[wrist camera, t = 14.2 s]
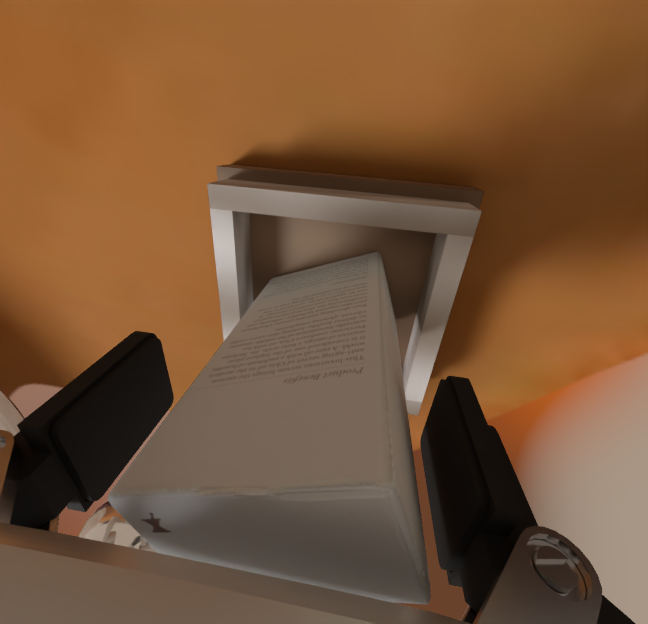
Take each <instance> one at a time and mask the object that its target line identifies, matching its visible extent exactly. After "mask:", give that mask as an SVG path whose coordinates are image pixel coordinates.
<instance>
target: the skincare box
mask: <svg viewBox="0 0 648 624" xmlns="http://www.w3.org/2000/svg"><path fill="white" fill-rule="evenodd" d="M108 501H109V503H110V504H111V505H112V507H113V508H114V509H115V510H116V511H117V512H118V513H119V514H120V515H121V516H122V517H123V518H124V519H125V520H126V521H127V522H128V523H129V524H130V525H131V526H132V527H133V528H134V529H135V530H136V531H137V532H138V533H139V534H140V535H141V536H142V537H143V538H144V539H145V540H146V541H147V543H148V544H149V545H150V546H151V547H152V548H153V549H154V550H155V551H156V552H157V553H160V554H165V555H170V556H175V557H180V558H185V559H190V560H194V561H199V562H204V563H209V564H214V565H219V566H223V567H228V568H233V569H238V570H243V571H248V572H252V573H257V574H262V575H267V576H271V577H276V578H281V579H286V580H290V581H295V582H300V583H304V584H309V585H314V586H319V587H323V588H328V589H333V590H337V591H342V592H347V593H351V594H356V595H361V596H365V597H370V598H374V599H378V600H382V601H387V602H394V603H414V604H428V603H429V601H430V597H431V596H430V581H429V573H428V566H427V558H426V550H425V542H424V535H423V527H422V519H421V513H420V504H419V497H418V489H417V483H416V474H415V467H414V460H413V451H412V443H411V436H410V428H409V420H408V412H407V405H406V397H405V390H404V382H403V374H402V366H401V358H400V350H399V342H398V334H397V325H396V320H395V315H394V311H393V306H392V302H391V297H390V293H389V288H388V284H387V279H386V275H385V270H384V266H383V262H382V258H381V255H380V253H379V252H378V251H376V252H372V253H369V254H365V255H361V256H357V257H353V258H349V259H345V260H341V261H337V262H333V263H329V264H325V265H321V266H318V267H314V268H310V269H306V270H302V271H298V272H295V273H291V274H286V275H282V276H279V277H274V278H272V279H271V280H270V281H269V282H268V284H267V285H266V286H265V288H264V289H263V290H262V292H261V293H260V294H259V296H258V297H257V298H256V300H255V301H254V302H253V303H252V305H251V306H250V308H249V309H248V310H247V312H246V313H245V314H244V316H243V317H242V318H241V320H240V321H239V322H238V324H237V325H236V326H235V328H234V329H233V330H232V332H231V333H230V334H229V335H228V337H227V338H226V339H225V341H224V342H223V343H222V345H221V346H220V347H219V349H218V350H217V351H216V353H215V354H214V355H213V357H212V358H211V359H210V361H209V362H208V363H207V365H206V366H205V367H204V369H203V370H202V371H201V372H200V374H199V375H198V377H197V378H196V379H195V381H194V382H193V383H192V385H191V386H190V387H189V388H188V390H187V391H186V392H185V394H184V395H183V396H182V398H181V399H180V400H179V402H178V403H177V404H176V405H175V407H174V408H173V409H172V411H171V412H170V413H169V415H168V416H167V417H166V419H165V420H164V421H163V422H162V424H161V425H160V426H159V428H158V429H157V430H156V432H155V433H154V434H153V436H152V437H151V438H150V440H149V441H148V442H147V444H146V445H145V447H144V448H143V449H142V450H141V452H140V453H139V454H138V456H137V457H136V459H135V460H134V461H133V462H132V464H131V465H130V466H129V468H128V469H127V470H126V472H125V473H124V474H123V476H122V477H121V479H120V480H119V481H118V483H117V484H116V485H115V487H114V488H113V489H112V491H111V492H110V494H109V497H108Z"/></svg>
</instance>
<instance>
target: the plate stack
mask: <svg viewBox="0 0 648 624" xmlns="http://www.w3.org/2000/svg"><path fill="white" fill-rule="evenodd" d="M24 419H25V418H24V416H23V415H22V413H21V412H20V411H19V409H18V408H17V407H16V405H15V404H14V403H13V402H12V401H11V400H10V398H9V399H7V397H6V396H5V395H4V394H3V393H2V392H1V391H0V430H5V431H8V432H11V434H12V435H13V436H15V435H16V434H17V433H18V432H20V430H19V428H18V427H17V425H18V424H19V423H20V422H21V421H23V420H24Z"/></svg>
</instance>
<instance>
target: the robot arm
mask: <svg viewBox="0 0 648 624" xmlns="http://www.w3.org/2000/svg"><path fill="white" fill-rule="evenodd" d="M173 398H174V397H173V392H172V387H171V383H170V379H169V374H168V370H167V366H166V362H165V357H164V353H163V349H162V344H161V341H160V340H159V339H158V338H157V336H156V335H155V334H153V333H147V332H140V331H135V332H133V333H132V334H130V335H129V336H128V337H127V338H125V339H124V340H123V341H122V342H120V343H119V344H118V345H117V346H115V347H114V348H113V349H112V350H110V351H109V352H108V353H107V354H105V355H104V356H103V357H102V358H100V359H99V360H98V361H97V362H95V363H94V364H93V365H92V366H90V367H89V368H88V369H87V370H85V371H84V372H83V373H82V374H80V375H79V376H78V377H77V378H75V379H74V380H73V381H72V382H70V383H69V384H68V385H67V386H65V387H64V388H63V389H62V390H60V391H59V392H58V393H57V394H55V395H54V396H53V397H52V398H50V399H49V400H48V401H47V402H45V403H44V404H43V405H42V406H40V407H39V408H38V409H37V410H35V411H34V412H33V413H31V414H30V415H29V416H28V417H26V418H25V419H24V420H23V421H21V422H20V423H19V424H18V425H17V427H18V428H19V430H20V432H18V433H17V434H16V435H15V436H13V435H12V434H11V432H8V431H5V430H0V624H635V623H634V622H633V621H632V620H631V619H630V618H628V617H627V616H626V615H625V614H624V613H623V612H621V611H620V610H619V609H618V608H617V607H616V606H614V605H613V604H612V603H611V602H610V601H609V600H607V598H605V597H604V596H603V595H602V587H601V584H600V581H599V577H598V575H597V573H596V571H595V570H594V568H593V566H592V564H591V563H590V561H589V560H588V559H587V558H586V557H585V555H584V554H583V553H582V552H581V550H580V549H579V548H578V547H576V546H575V545H574V544H573V543H572V542H571V541H570V540H568V539H567V538H566V537H564V536H563V535H561V534H559V533H558V532H556V531H554V530H551V529H549V528H546V527H540V526H538V525H537V523H536V520H535V518H534V515H533V513H532V511H531V508H530V506H529V504H528V501H527V499H526V497H525V495H524V492H523V490H522V488H521V485H520V483H519V481H518V478H517V476H516V474H515V471H514V469H513V467H512V464H511V462H510V460H509V457H508V455H507V453H506V450H505V448H504V446H503V444H502V441H501V439H500V436H499V434H498V433H497V431H496V429H495V428H494V427H493V426H490V425H488V424H487V422H486V419H485V417H484V414H483V412H482V410H481V407H480V405H479V402H478V400H477V397H476V395H475V392H474V390H473V387H472V385H471V383H470V381H469V379H467V378H461V377H454V376H448V377H447V378H446V380H443V379H442V380H441V381H440V383H439V386H438V389H437V392H436V395H435V397H434V400H433V403H432V406H431V409H430V412H429V415H428V418H427V421H426V424H425V427H424V430H423V433H422V436H421V452H422V459H423V465H424V471H425V477H426V484H427V490H428V496H429V503H430V509H431V515H432V522H433V528H434V534H435V541H436V547H437V553H438V560H439V564H440V567H441V568H442V569H444V570H447V575H448V581H449V584H450V585H454V586H459V587H463V592H464V597H465V601H466V602H467V603H468V605H469V606H468V608H467V610H466V612H465V614H464V616H463V618H462V620H461V621H460V620H457V619H454V618H450V617H447V616H443V615H440V614H437V613H433V612H430V611H425V610H421V609H417V608H412V607H408V606H404V605H400V604H395V603H391V602H387V601H382V600H378V599H374V598H370V597H365V596H361V595H356V594H351V593H347V592H342V591H337V590H333V589H328V588H323V587H319V586H314V585H309V584H304V583H300V582H295V581H290V580H286V579H281V578H276V577H271V576H267V575H262V574H257V573H252V572H248V571H243V570H238V569H233V568H228V567H223V566H219V565H214V564H209V563H204V562H199V561H194V560H190V559H185V558H180V557H175V556H170V555H165V554H160V553H156V552H151V551H146V550H141V549H136V548H131V547H126V546H121V545H116V544H111V543H106V542H101V541H96V540H91V539H86V538H81V537H76V536H71V535H66V534H61V533H58V525H59V514H60V513H61V511H62V510H63V509H64V508H65V507H66V506H67V508H68V509H73V510H78V511H83V512H86V511H87V509H89V507H90V506H91V505H92V503H93V502H94V501H97V500H99V499H100V498H101V497H102V496H103V495H104V493H105V492H106V491H107V490H108V488H109V487H110V486H111V484H112V483H113V482H114V480H115V479H116V478H117V476H118V475H119V474H120V473H121V471H122V470H123V469H124V467H125V466H126V465H127V463H128V462H129V460H130V459H131V458H132V457H133V455H134V454H135V453H136V451H137V450H138V449H139V447H140V446H141V445H142V444H143V442H144V441H145V440H146V438H147V437H148V436H149V434H150V433H151V432H152V430H153V429H154V428H155V427H156V425H157V424H158V422H159V421H160V420H161V418H162V417H163V416H164V415H165V413H166V412H167V411H168V409H169V408H170V407H171V405H172V403H173Z"/></svg>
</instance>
